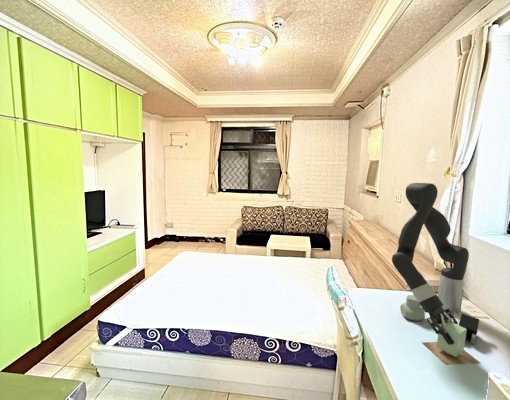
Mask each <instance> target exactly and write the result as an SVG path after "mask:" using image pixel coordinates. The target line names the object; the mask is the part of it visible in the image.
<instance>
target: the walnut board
mask: <svg viewBox="0 0 510 400" xmlns="http://www.w3.org/2000/svg"><path fill="white" fill-rule="evenodd" d="M421 344H422V345H423V346H424V347H426V348H427V349H428V350H429V351H430V352H431V353H432V354H434V356H435V357H436V358H438V359H439V360H440V361H441V362H442V363H443V364H444V365H445V366H447V365H449V366H450V365H467V364H469V365H470V364H471V365H472V364H481V361H479V360H478V359H476V358H475V357H474V356H472V355H471V354H470V353H469V352H467V350H465V349H464V351H463V352H462V353H460V354H459V355H457V356H456V357H455V356H453V355H450V354H448V353H446V352H445V351H444V350H442V349H440V348H438V347H437V341H430V342H429V341H425V342H424V341H423V342H422V341H421Z"/></svg>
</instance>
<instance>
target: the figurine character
mask: <svg viewBox="0 0 510 400" xmlns="http://www.w3.org/2000/svg"><path fill="white" fill-rule="evenodd" d="M479 323H480V319H479V318H476V317H474V316H470V315H468V314H466V313H461V315H460V319H459V321H458V325H459V326H461V327H463V328H466V329H467V331H466V338H465V340H466V341H469V342H470V343H471V344H473V345H475V342H476V340H477V339H478V335H477V334H478V331H479V330H478V329H479Z"/></svg>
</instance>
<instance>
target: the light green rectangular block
mask: <svg viewBox="0 0 510 400" xmlns="http://www.w3.org/2000/svg"><path fill="white" fill-rule="evenodd" d="M453 322H454V321H453ZM453 322H452V323H451V322H446V323H445V324H446V327H445V329H446V330H447V333H448V334H449V335H450V337H451V338H452V340H453V341H454V344H452V345H449V344H448V343H447V342H446V341H445V339H444V337H443V336H442V335H441V334H437V340H436V342H437V347H438V348H440V349H442V350H444V351H446V352H448V353H449V354H451V355H453V356H455V357H456V356H457V355H459V354H460V353H462V352H463V351H464V350H465V349H464V348H465V345H466V339H465V338H466V331H467V329H466V328H463V327H461V326H459V324H455V323H453ZM441 328H442V327H441ZM442 330H443V328H442Z"/></svg>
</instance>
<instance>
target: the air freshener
mask: <svg viewBox="0 0 510 400" xmlns="http://www.w3.org/2000/svg"><path fill="white" fill-rule="evenodd" d="M399 308H400V313H401V315H402V316H403V317H404V318H406V319H408V320H409V321H414V322H420V321H423V320H425V319H426V312H424V310H423V309H422V307H421V306H420V304H419V303H418V301H417V300H416V298H415V297H414V295H413V294H409V295H407V296H406V301H405V302H403V303H402V304H400V306H399Z"/></svg>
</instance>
